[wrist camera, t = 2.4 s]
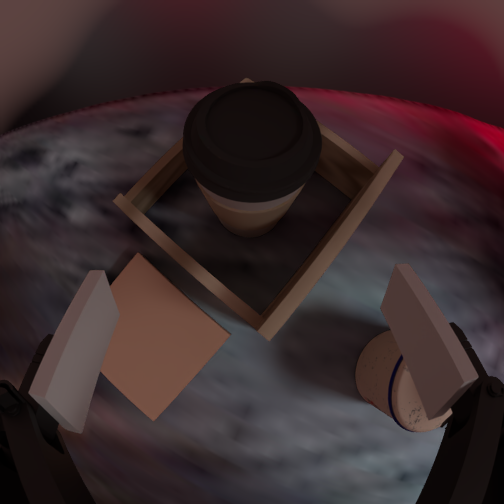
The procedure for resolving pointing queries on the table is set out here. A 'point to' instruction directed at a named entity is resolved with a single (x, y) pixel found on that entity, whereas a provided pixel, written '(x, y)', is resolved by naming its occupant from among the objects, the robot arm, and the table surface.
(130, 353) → the terracotta tile
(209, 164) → the coffee cup
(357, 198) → the frame
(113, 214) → the table surface
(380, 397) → the teacup with lid
